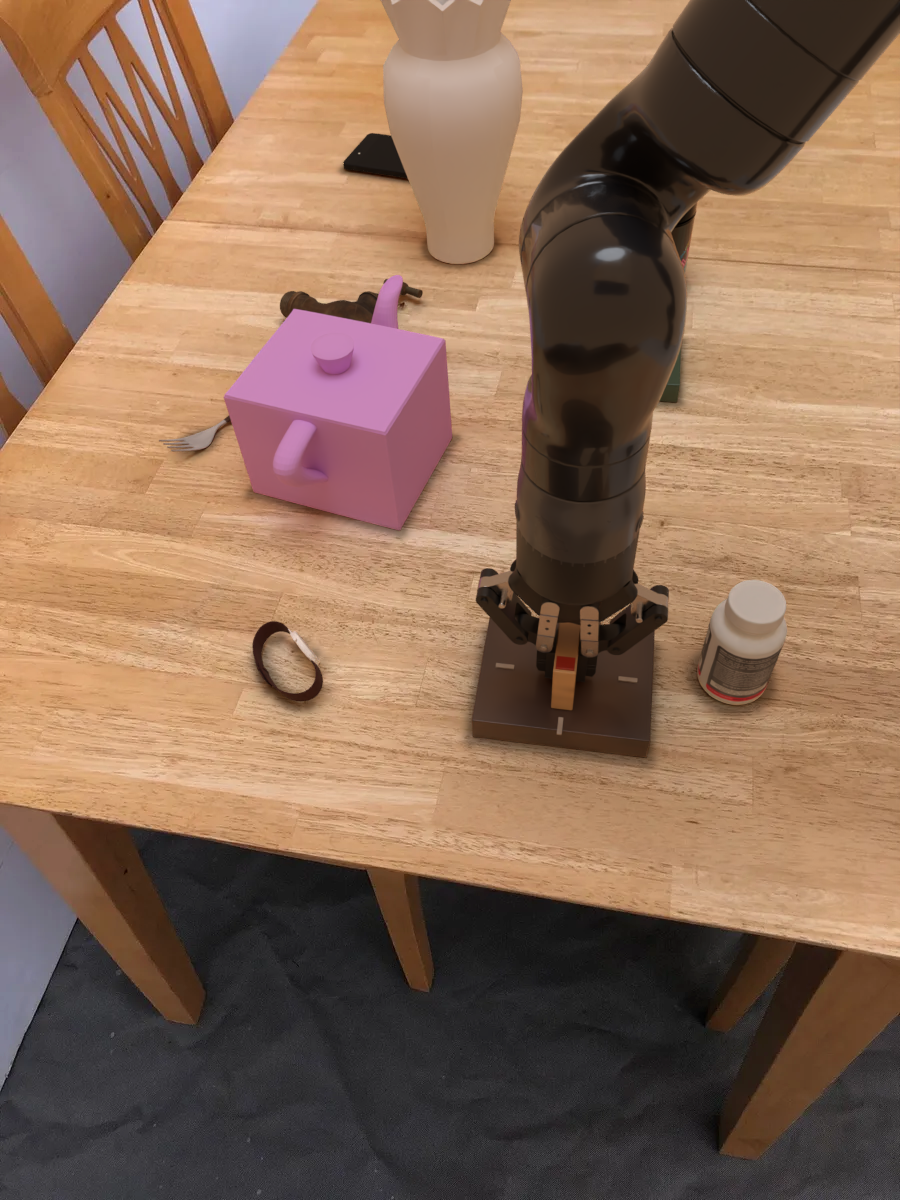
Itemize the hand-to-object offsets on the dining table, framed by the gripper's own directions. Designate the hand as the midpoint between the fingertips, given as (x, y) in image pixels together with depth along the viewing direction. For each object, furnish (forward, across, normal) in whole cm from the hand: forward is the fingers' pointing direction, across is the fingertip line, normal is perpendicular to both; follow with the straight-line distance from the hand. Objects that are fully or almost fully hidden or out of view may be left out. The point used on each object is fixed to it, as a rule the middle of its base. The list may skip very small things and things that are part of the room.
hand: (565, 669), depth 69 cm
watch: (+4, +22, +1) cm, 22 cm away
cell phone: (+3, +27, -80) cm, 85 cm away
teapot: (+4, +22, -24) cm, 33 cm away
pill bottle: (+3, -13, -3) cm, 14 cm away
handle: (+1, 0, 0) cm, 1 cm away
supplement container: (+3, -5, -55) cm, 56 cm away
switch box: (+3, -2, -40) cm, 40 cm away
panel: (+3, 0, 0) cm, 3 cm away
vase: (+4, +18, -61) cm, 64 cm away
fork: (+4, +36, -28) cm, 46 cm away
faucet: (+4, +26, -44) cm, 51 cm away
